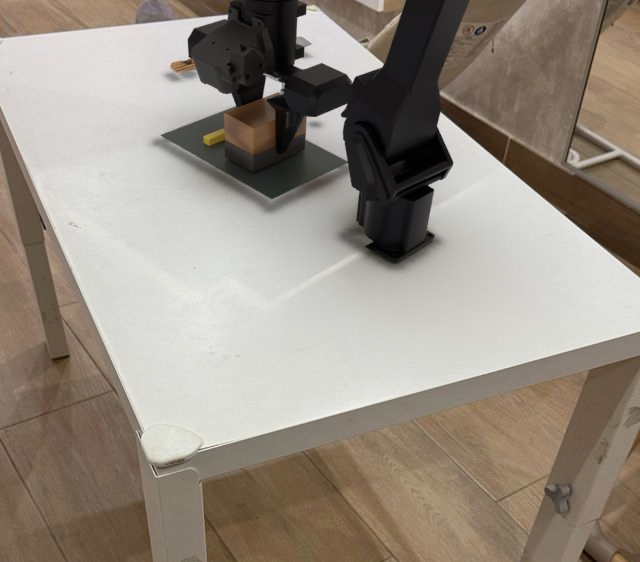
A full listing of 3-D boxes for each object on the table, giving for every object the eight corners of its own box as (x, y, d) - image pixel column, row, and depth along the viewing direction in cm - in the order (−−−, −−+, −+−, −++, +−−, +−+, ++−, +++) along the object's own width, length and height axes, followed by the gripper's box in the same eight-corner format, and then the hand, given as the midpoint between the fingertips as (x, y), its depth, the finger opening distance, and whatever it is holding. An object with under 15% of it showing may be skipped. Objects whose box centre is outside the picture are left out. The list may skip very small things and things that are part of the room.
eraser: (305, 149, 91) (307, 106, 88) (253, 173, 87) (253, 128, 83) (276, 134, 93) (278, 91, 90) (224, 156, 89) (223, 112, 85)
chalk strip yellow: (229, 138, 92) (229, 131, 92) (209, 146, 91) (209, 139, 90) (223, 134, 93) (223, 128, 92) (203, 142, 91) (203, 136, 91)
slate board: (348, 170, 91) (349, 161, 90) (271, 207, 85) (271, 199, 84) (238, 112, 99) (238, 104, 98) (160, 143, 93) (160, 134, 92)
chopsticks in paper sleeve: (314, 34, 109) (178, 65, 102) (314, 55, 111) (180, 86, 104) (300, 23, 112) (165, 53, 104) (300, 44, 114) (167, 74, 106)
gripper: (140, -20, 78) (153, 135, 89) (277, 43, 70) (273, 204, 81) (226, -42, 84) (229, 106, 95) (362, 14, 76) (347, 168, 87)
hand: (265, 144), depth 89 cm, fingers closed on eraser, 4 cm apart
